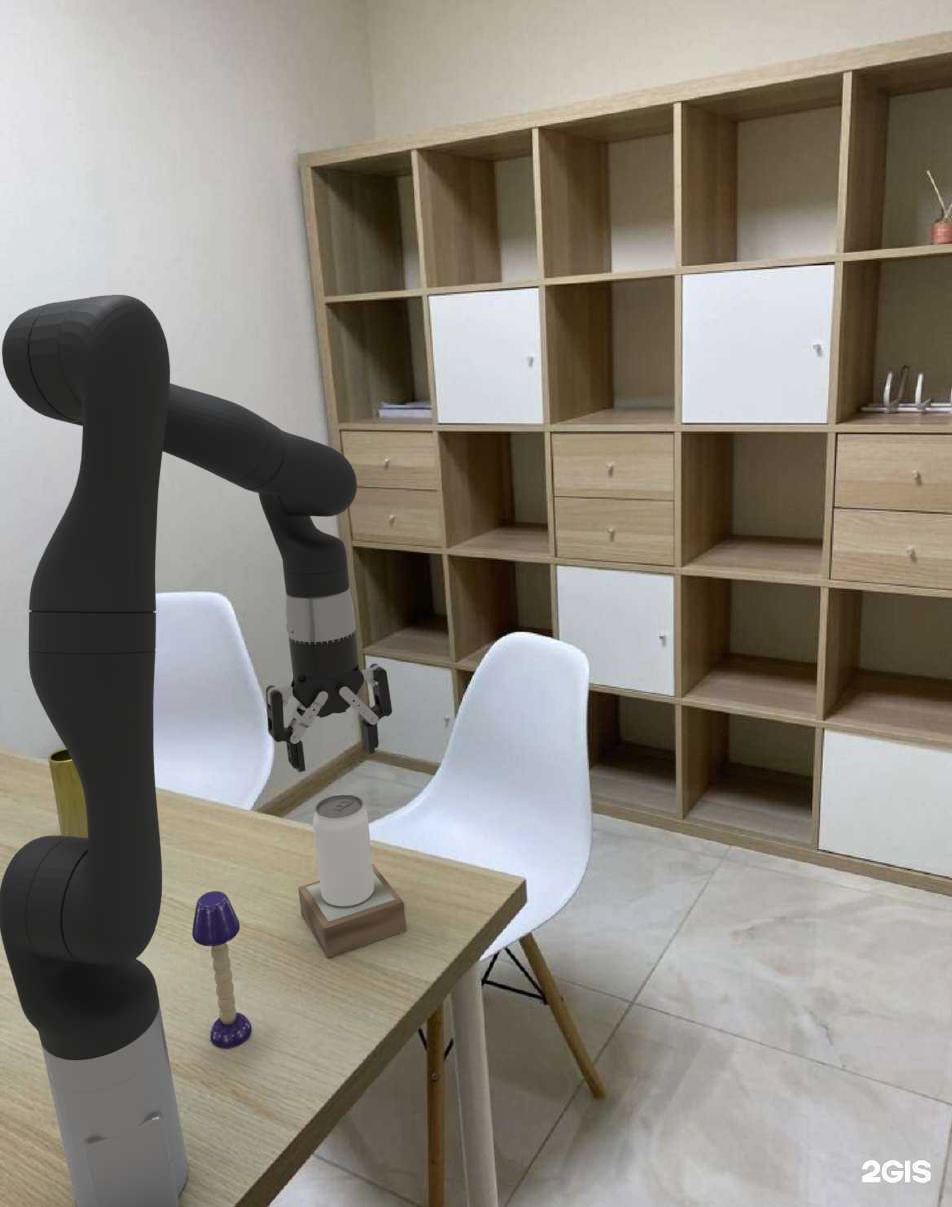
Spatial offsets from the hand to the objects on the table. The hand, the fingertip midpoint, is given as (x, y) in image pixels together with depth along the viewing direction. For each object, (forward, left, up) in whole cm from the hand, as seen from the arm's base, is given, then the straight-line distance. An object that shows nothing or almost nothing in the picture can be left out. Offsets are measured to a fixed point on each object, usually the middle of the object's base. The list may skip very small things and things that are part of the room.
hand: (335, 760), depth 113 cm
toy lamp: (-12, +18, -22) cm, 31 cm away
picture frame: (0, 0, -22) cm, 22 cm away
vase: (+40, +27, -22) cm, 53 cm away
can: (0, 0, -18) cm, 18 cm away
